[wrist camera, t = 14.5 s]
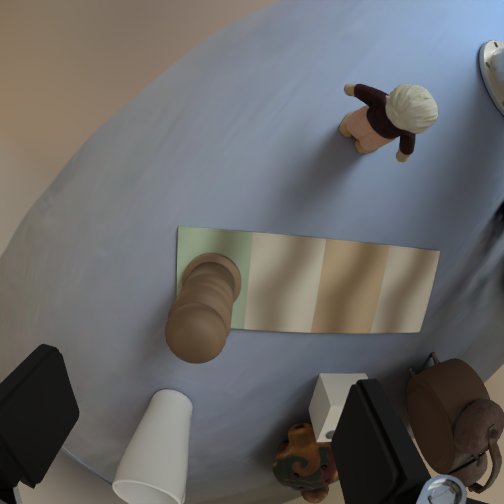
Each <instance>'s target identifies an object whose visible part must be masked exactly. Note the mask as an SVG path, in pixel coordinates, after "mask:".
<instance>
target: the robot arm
mask: <svg viewBox="0 0 504 504" xmlns="http://www.w3.org/2000/svg"><path fill="white" fill-rule="evenodd" d="M479 61H480V68H481V73H482V77H483V80H484V83H485V85H486V88H487V90H488V92H489V94H490V96H491V98H492V100H493V102H494V103H495V105H496V106H497V108H498V109H499V110H500V112H501V113H502V114H503V115H504V43H502V42H500V41H497V40H490V41H488V42H486V43H484V44H483V45H482V47H481V49H480V55H479ZM78 418H79V408H78V405H77V402H76V399H75V396H74V393H73V390H72V387H71V384H70V381H69V377H68V374H67V370H66V367H65V363H64V359H63V356H62V354H61V353H60V352H59V350H58V349H57V348H56V347H53V346H49V345H46V344H41V345H40V346H39V347H37V348H36V349H35V350H34V351H33V352H32V353H31V354H30V355H29V356H28V357H27V358H26V359H25V360H24V361H23V362H22V363H21V364H20V365H19V366H18V367H17V368H16V369H15V370H14V371H13V372H12V373H11V374H10V375H9V376H8V377H7V378H6V379H5V380H4V381H3V382H2V383H1V384H0V504H22V501H21V497H20V493H19V489H18V485H17V484H18V482H19V481H21V482H22V483H24V484H26V485H27V486H29V487H31V488H33V489H34V487H35V485H36V484H38V483H40V482H41V481H42V480H43V478H44V476H45V474H46V472H47V471H48V469H49V467H50V465H51V463H52V462H53V460H54V458H55V457H56V455H57V453H58V451H59V450H60V448H61V446H62V445H63V443H64V441H65V440H66V438H67V436H68V435H69V433H70V431H71V430H72V428H73V426H74V425H75V423H76V422H77V420H78ZM331 449H332V453H333V457H334V461H335V465H336V468H337V472H338V476H339V480H340V484H341V488H342V492H343V496H344V500H345V504H488V503H484V502H481V501H477V500H474V499H470V498H467V491H466V488H465V486H464V484H463V483H462V482H461V481H460V480H459V479H457V478H455V477H453V476H450V475H437V476H435V477H433V478H431V476H430V474H429V472H428V470H427V468H426V466H425V464H424V462H423V460H422V458H421V456H420V455H419V452H418V451H417V448H416V447H415V445H414V443H413V441H412V439H411V437H410V435H409V433H408V431H407V429H406V428H405V426H404V424H403V422H402V420H401V419H400V417H399V416H397V415H396V413H395V411H394V409H393V408H392V406H391V404H390V402H389V400H388V398H387V397H386V395H385V393H384V391H383V389H382V388H381V386H380V384H379V382H378V381H377V379H360V380H358V381H357V382H356V384H353V385H351V387H350V390H349V393H348V396H347V399H346V402H345V405H344V407H343V410H342V413H341V416H340V418H339V421H338V424H337V427H336V429H335V432H334V434H333V437H332V440H331Z"/></svg>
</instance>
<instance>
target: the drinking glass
mask: <svg viewBox="0 0 504 504" xmlns="http://www.w3.org/2000/svg"><path fill="white" fill-rule="evenodd" d="M192 413H193V406H192V403H191V401H190V400H189V398H188V397H187V396H185V395H184V394H182V393H181V392H178V391H176V390H171V389H164V390H160V391H158V392H156V393H155V394H154V395H153V396H152V398H151V401H150V403H149V406H148V408H147V410H146V412H145V414H144V415H143V417H142V419H141V421H140V423H139V425H138V427H137V429H136V430H135V432H134V434H133V436H132V438H131V440H130V442H129V444H128V445H127V447H126V449H125V451H124V453H123V456H122V458H121V460H120V463H119V465H118V468H117V471H116V474H115V477H114V481H113V484H112V488H113V490H114V492H115V493H116V494H117V495H118V496H119V497H120V498H121V499H123V500H124V501H126V502H127V503H129V504H182V501H183V497H184V493H185V488H186V481H187V472H188V456H189V440H190V427H191V418H192Z"/></svg>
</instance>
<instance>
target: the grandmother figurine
mask: <svg viewBox="0 0 504 504" xmlns="http://www.w3.org/2000/svg"><path fill="white" fill-rule="evenodd" d="M344 92H345V93H346V94H347V95H348V96H354V97H356V98H358V99H359V100H361V101H362V102H364V103H365V104H367V105H366V106H364V107H362V108H360V109H359V110H357V111H355V112H353V113H348V114H347V115H346V116H345V118H344V119H343V121H342V122H341V124H340V126H339V131H340V132H341V134H342V135H344V136H345V137H352V136H354V137H355V138H356V139H357V140H356V141H355V147H356V149H357V151H358V152H359V153H361V154H365V153H369V152H372V151H375V150H377V149H378V148H379V147H381V146H383V145H385V144H387V143H389V142H391V141H393V140H394V139H395V138H397V137H399V136H400V144H399V150H398V152H397V154H396V158H397V160H398V161H399V162H405V161H407V159H408V157H409V156H410V154H412V153H413V151H414V145H415V135H416V134H419V133H422V132H424V131H425V130H427V129H428V128H429V127H431V126H432V125H433V123H434V122H435V121H436V119H437V117H438V112H437V110H438V106H437V104H436V102H435V101H434V99H433V97H432V96H431V94H430V93H429V92H428V90H427V89H425V88H423V87H421V86H419V85H413V84H412V85H409V84H403V85H399V86H398V87H396V88H395V89H394V90H393V91H392V92H391V93H390V94H389V95H388V94H386V93H384V92H382V91H380V90H378V89H375V88H372V87H369V86H366V85H363V84H357V85H353V84H346V85H345V87H344Z"/></svg>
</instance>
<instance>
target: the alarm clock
mask: <svg viewBox="0 0 504 504" xmlns="http://www.w3.org/2000/svg"><path fill="white" fill-rule="evenodd" d="M431 357H433V360H434V364H435V365H433V366H431V367H429V368H427V369H425V370H424V371H422V372H421V373H419V374H417V375H415V373H414V372H413V371H412V368H408V372H410V374H411V377H412V378H411V379H410V380H409V382H408V384H407V391H406V400H407V410H408V414H409V419H410V423H411V427H412V431H413V434H414V437H415V439H416V442H417V444H418V446H419V448H420V450H421V453H422V455H423V456H424V458H425V460H426V461H427V463H428V464H429V465H430V467H431V468H432V469H433V470H434V471H436V472H437V473H439V474H442V475H450V476H453V477H455V478H457V479H459V480H460V481H461V482H462V483H463V484H464V486H465V488H466V487H468V489H469V491H470V492H472V491H474V492H476V493H479V494H480V493H481V492H483V491H484V490H486V489H487V488H489V487H490V486H491V485H492V484H493V483H494V481H495V479H496V478H497V476H498V474H499V472H500V468H501V464H502V457H501V454H500V451H499V447H498V445H497V441H498V439H499V438H500V436H501V434H502V432H503V428H504V412H503V410H502V409H501V407H500V406H499V405H498V404H496V403H495V402H493V401H492V400H490V397H489V395H488V392H487V390H486V388H485V386H484V384H483V382H482V380H481V379H480V377H479V376H478V374H477V373H476V372H475V371H474V370H473V369H472V367H470V366H469V365H468V364H467V363H465V362H464V361H462V360H459V359H449V360H446V361H444V362H442V363H440V362H439V360H438V359H437V357H436V356H435V353H434V352H433V353H431ZM487 450H489V452H490V455H491V459H492V462H493V468H492V472H491V475H490V477H489V479H488V481H487V483H486V484H485V485H484V487H483V486H481V485H480V484H478V483H476V481H478V480H479V479H480V478H481V477H482V475H483V474H484V473H485V471H486V469H487V455H486V453H485V452H486V451H487ZM480 453H481V454H480Z"/></svg>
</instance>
